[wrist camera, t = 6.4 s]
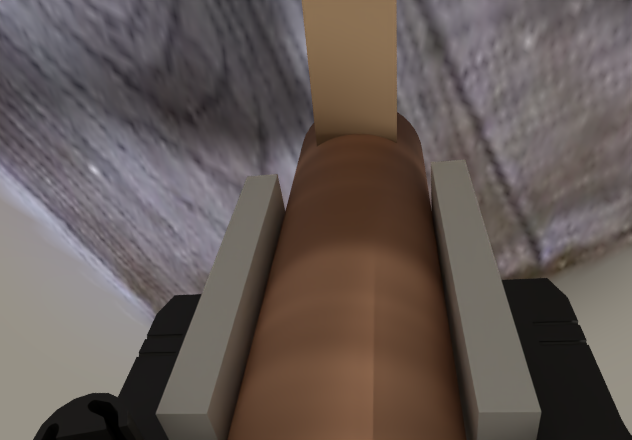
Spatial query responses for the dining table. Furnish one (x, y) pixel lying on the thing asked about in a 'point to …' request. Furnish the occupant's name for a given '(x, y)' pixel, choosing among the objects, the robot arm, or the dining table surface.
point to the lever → (353, 261)
